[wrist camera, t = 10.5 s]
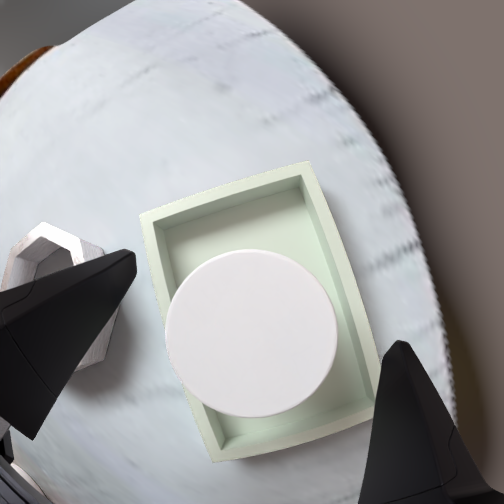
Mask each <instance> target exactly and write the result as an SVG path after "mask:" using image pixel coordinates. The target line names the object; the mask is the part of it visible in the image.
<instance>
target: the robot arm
mask: <svg viewBox="0 0 504 504" xmlns="http://www.w3.org/2000/svg"><path fill="white" fill-rule="evenodd" d="M136 274H137V266H136V255H135V253H134V252H132V251H130V250H127V249H122V250H119V251H116V252H113V253H110V254H107V255H104V256H101V257H98V258H95V259H92V260H89V261H86V262H83V263H80V264H77V265H75V266H72V267H69V268H66V269H63V270H61V271H58V272H55V273H52V274H50V275H47V276H44V277H41V278H39V279H37V280H33V281H31V282H28V283H25V284H23V285H20V286H17V287H14V288H11V289H8V290H5V291H1V292H0V504H53V503H52V502H51V501H49V500H48V499H47V498H46V497H45V496H43V495H42V494H41V493H40V492H39V491H37V490H36V489H35V488H34V487H33V486H32V485H31V484H29V483H28V482H27V481H26V480H25V479H24V478H23V477H22V476H21V475H20V474H19V473H18V472H17V471H16V470H15V469H14V468H13V467H12V466H11V463H12V462H13V460H14V455H13V449H12V443H11V436H10V430H9V428H10V426H11V425H12V426H13V427H14V428H15V429H17V430H18V431H19V432H21V433H22V434H24V435H25V436H26V437H28V438H29V439H31V440H32V441H33V440H34V438H35V437H36V435H37V433H38V431H39V429H40V428H41V426H42V424H43V422H44V420H45V419H46V417H47V415H48V414H49V412H50V410H51V408H52V407H53V405H54V403H55V402H56V400H57V398H58V396H59V395H60V393H61V391H62V390H63V388H64V387H65V385H66V383H67V382H68V380H69V379H70V377H71V375H72V374H73V372H74V371H75V369H76V368H77V366H78V365H79V363H80V362H81V360H82V359H83V357H84V356H85V354H86V353H87V351H88V350H89V348H90V347H91V345H92V344H93V342H94V341H95V339H96V338H97V336H98V335H99V334H100V332H101V331H102V329H103V328H104V326H105V325H106V324H107V322H108V321H109V319H110V318H111V317H112V315H113V314H114V312H115V311H116V309H117V308H118V306H119V304H120V303H121V301H122V299H123V297H124V296H125V294H126V292H127V291H128V289H129V287H130V286H131V284H132V282H133V281H134V279H135V277H136ZM358 504H504V494H503V493H500V492H498V491H496V490H494V489H493V488H491V487H490V486H489V485H488V484H487V483H486V481H485V480H484V478H483V476H482V474H481V473H480V471H479V469H478V467H477V465H476V464H475V462H474V460H473V458H472V456H471V455H470V453H469V451H468V449H467V447H466V446H465V444H464V442H463V440H462V438H461V436H460V434H459V432H458V430H457V428H456V426H455V425H454V422H453V420H452V418H451V416H450V414H449V412H448V410H447V408H446V407H445V405H444V403H443V401H442V399H441V397H440V395H439V394H438V392H437V390H436V388H435V386H434V385H433V383H432V381H431V379H430V378H429V376H428V374H427V372H426V371H425V369H424V367H423V366H422V364H421V362H420V361H419V359H418V357H417V356H416V354H415V352H414V351H413V349H412V347H411V346H410V344H409V343H408V342H405V341H401V340H397V341H395V343H394V344H393V345H392V346H391V347H390V349H389V350H388V351H387V352H386V354H385V355H384V357H383V360H382V366H381V372H380V377H379V383H378V388H377V393H376V399H375V406H374V416H373V424H372V432H371V439H370V446H369V452H368V458H367V463H366V469H365V474H364V479H363V484H362V488H361V493H360V497H359V501H358Z"/></svg>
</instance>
